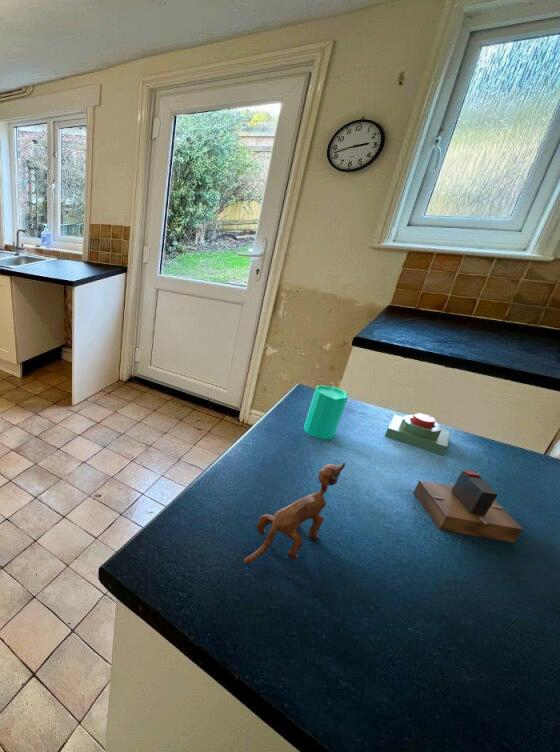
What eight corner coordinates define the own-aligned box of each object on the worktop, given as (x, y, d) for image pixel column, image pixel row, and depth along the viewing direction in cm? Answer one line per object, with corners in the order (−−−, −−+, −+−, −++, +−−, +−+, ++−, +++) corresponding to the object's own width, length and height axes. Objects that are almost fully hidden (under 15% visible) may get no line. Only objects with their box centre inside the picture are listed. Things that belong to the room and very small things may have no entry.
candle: (299, 431, 95) (313, 384, 89) (308, 421, 98) (322, 376, 93) (329, 442, 91) (346, 394, 85) (337, 431, 94) (354, 385, 89)
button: (433, 424, 90) (436, 417, 90) (431, 431, 88) (434, 424, 87) (412, 418, 93) (415, 411, 92) (410, 424, 90) (413, 417, 90)
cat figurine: (261, 585, 60) (285, 515, 54) (224, 552, 65) (242, 484, 59) (334, 538, 67) (362, 471, 61) (296, 511, 72) (318, 447, 67)
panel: (477, 502, 74) (485, 488, 73) (515, 544, 66) (525, 530, 65) (411, 491, 77) (418, 478, 75) (440, 531, 68) (448, 517, 67)
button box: (446, 439, 91) (454, 424, 90) (443, 455, 86) (451, 439, 85) (390, 422, 98) (396, 407, 96) (384, 436, 93) (390, 421, 91)
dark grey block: (485, 515, 67) (499, 493, 65) (470, 513, 68) (483, 491, 66) (464, 492, 72) (476, 471, 70) (451, 490, 73) (462, 469, 71)
